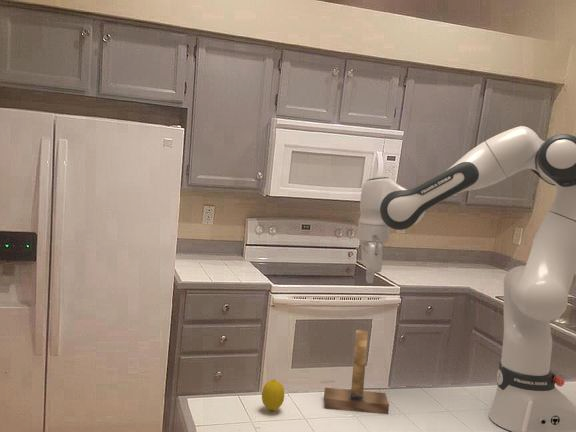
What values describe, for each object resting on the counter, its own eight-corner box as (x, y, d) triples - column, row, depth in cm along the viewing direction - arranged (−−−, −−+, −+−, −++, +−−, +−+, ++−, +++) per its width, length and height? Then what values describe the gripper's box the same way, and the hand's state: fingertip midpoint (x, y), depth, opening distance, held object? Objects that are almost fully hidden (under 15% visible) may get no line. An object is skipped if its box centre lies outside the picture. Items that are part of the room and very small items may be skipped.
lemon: (280, 417, 126) (282, 385, 125) (258, 414, 127) (260, 381, 126) (285, 407, 131) (287, 376, 130) (263, 404, 132) (265, 373, 131)
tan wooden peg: (362, 395, 134) (367, 330, 133) (363, 400, 131) (368, 333, 130) (350, 394, 135) (355, 329, 134) (351, 399, 132) (356, 332, 131)
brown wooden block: (384, 402, 138) (385, 392, 138) (388, 414, 131) (389, 403, 131) (324, 396, 139) (324, 386, 139) (324, 408, 132) (325, 398, 132)
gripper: (389, 239, 138) (385, 291, 139) (380, 231, 158) (376, 276, 159) (365, 237, 138) (361, 289, 139) (359, 229, 158) (355, 274, 159)
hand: (369, 282), depth 149 cm, fingers closed
